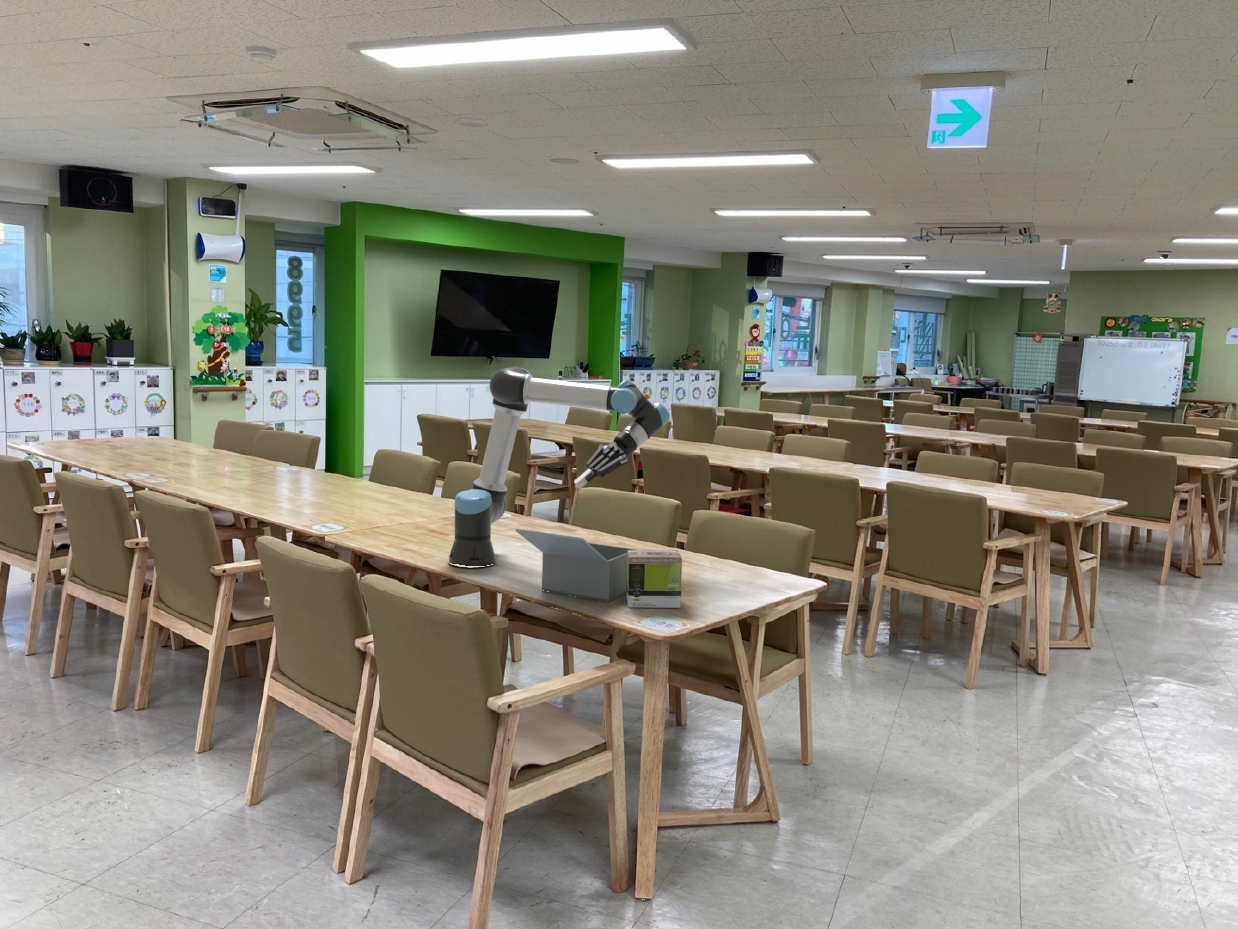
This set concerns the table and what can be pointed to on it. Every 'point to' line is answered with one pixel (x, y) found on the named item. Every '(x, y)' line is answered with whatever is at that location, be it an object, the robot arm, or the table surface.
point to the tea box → (654, 578)
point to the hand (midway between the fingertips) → (576, 485)
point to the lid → (562, 545)
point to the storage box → (587, 574)
